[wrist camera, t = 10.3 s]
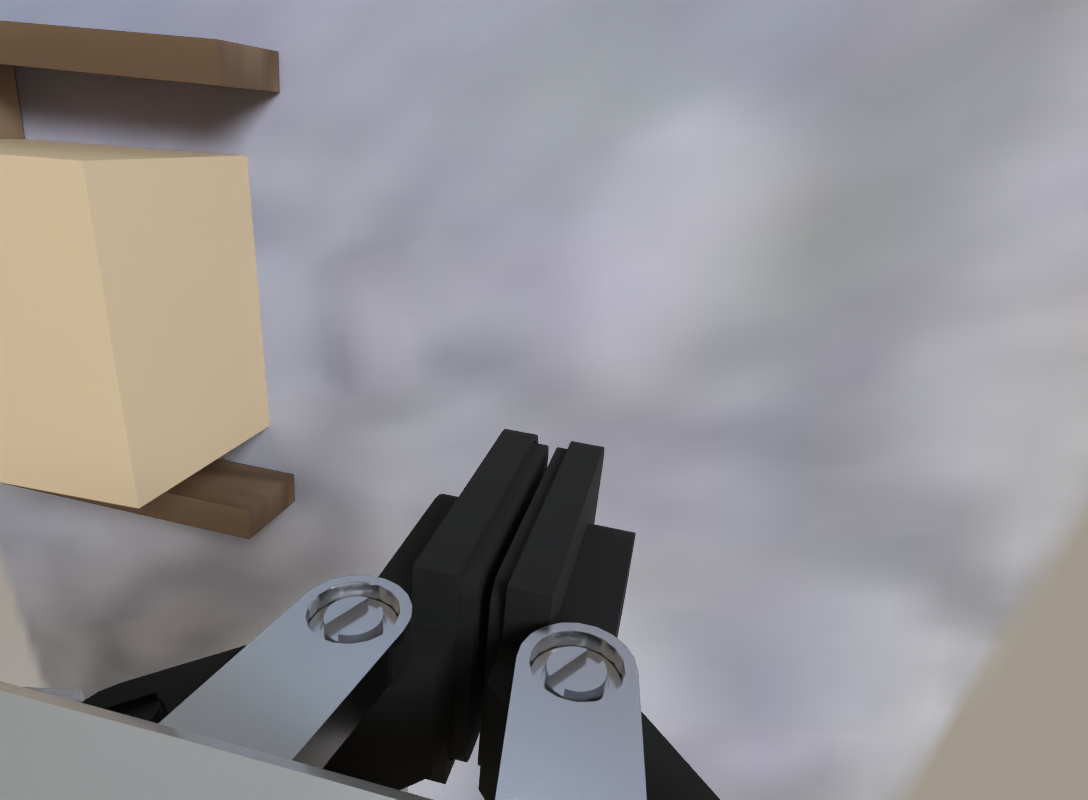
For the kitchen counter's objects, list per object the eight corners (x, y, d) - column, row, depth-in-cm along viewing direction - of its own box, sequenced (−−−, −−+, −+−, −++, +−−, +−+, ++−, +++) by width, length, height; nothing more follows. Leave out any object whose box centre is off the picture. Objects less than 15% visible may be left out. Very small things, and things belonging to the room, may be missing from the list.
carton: (30, 138, 26) (-193, 139, 20) (249, 155, 24) (82, 160, 18) (78, 394, 30) (-99, 463, 23) (271, 424, 28) (138, 508, 22)
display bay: (-22, 25, 25) (-114, 10, 22) (278, 51, 23) (217, 39, 20) (51, 449, 31) (-15, 479, 28) (294, 501, 29) (249, 539, 26)
